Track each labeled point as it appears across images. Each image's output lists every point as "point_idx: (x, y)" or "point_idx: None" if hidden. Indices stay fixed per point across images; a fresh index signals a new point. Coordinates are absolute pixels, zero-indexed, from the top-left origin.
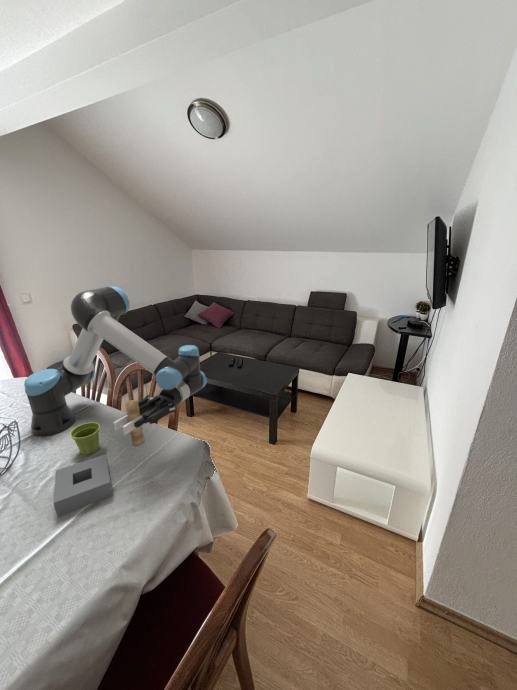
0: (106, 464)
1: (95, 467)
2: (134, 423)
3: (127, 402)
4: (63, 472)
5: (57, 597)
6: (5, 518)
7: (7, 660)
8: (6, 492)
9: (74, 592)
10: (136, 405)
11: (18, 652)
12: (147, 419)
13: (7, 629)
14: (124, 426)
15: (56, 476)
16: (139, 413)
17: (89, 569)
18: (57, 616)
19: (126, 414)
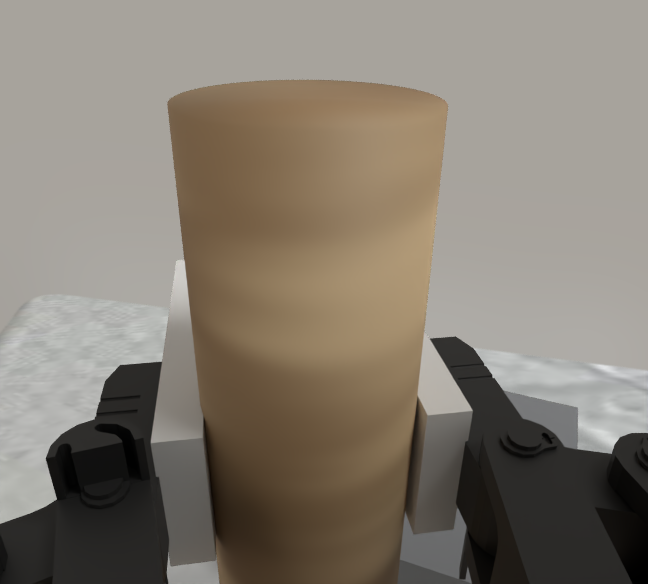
0: (440, 567)
1: (461, 517)
2: (161, 364)
3: (398, 91)
4: (535, 419)
5: (79, 352)
6: (474, 348)
7: (75, 297)
8: (617, 368)
9: (42, 370)
10: (175, 147)
11: (65, 305)
12: (30, 530)
13: (129, 304)
14: (184, 263)
15: (523, 398)
16: (214, 397)
17: (50, 404)
18: (40, 343)
19: (495, 393)
